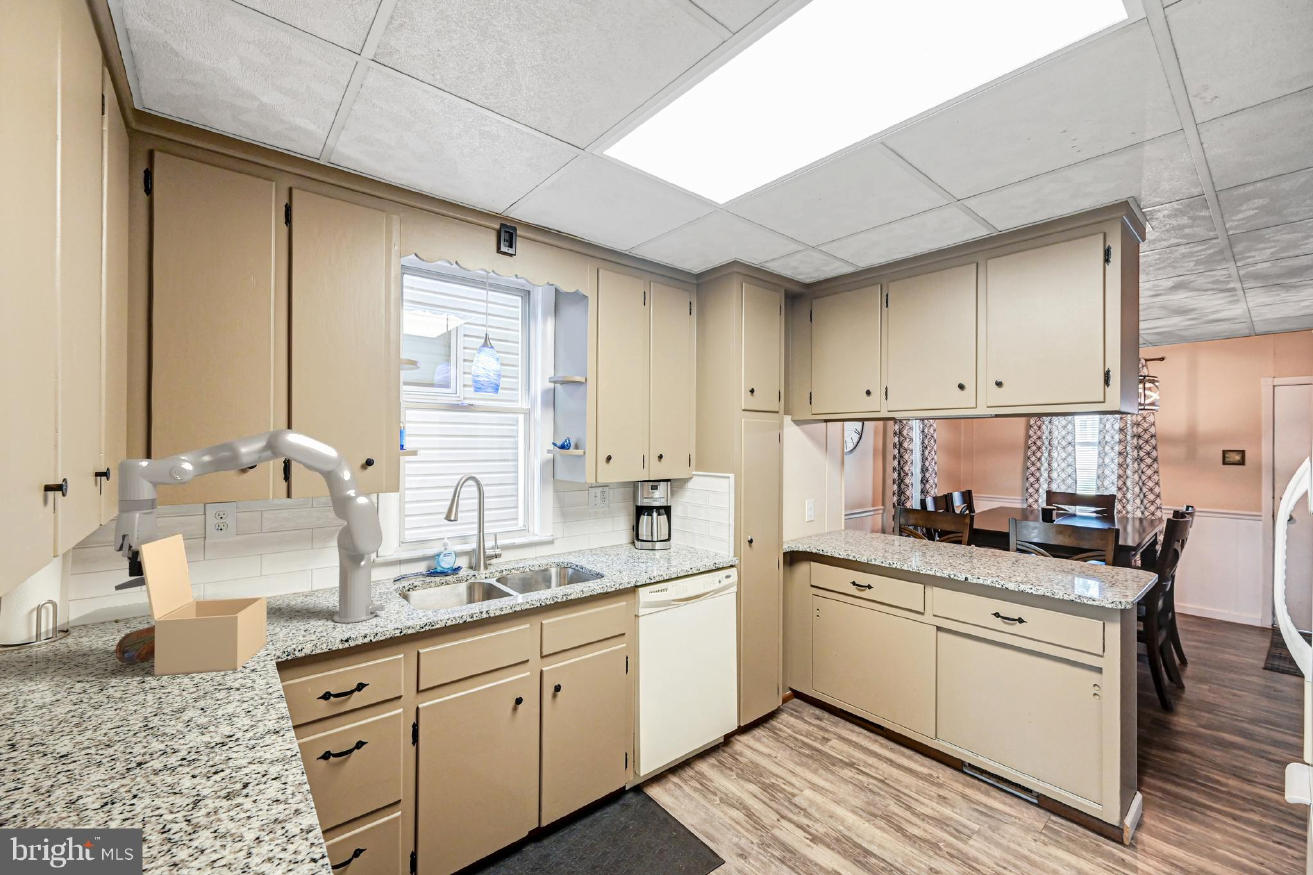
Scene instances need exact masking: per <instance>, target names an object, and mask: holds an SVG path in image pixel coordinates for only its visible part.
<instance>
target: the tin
mask: <svg viewBox="0 0 1313 875" xmlns="http://www.w3.org/2000/svg"><path fill="white" fill-rule="evenodd" d="M115 657H116V659H117V660H118V661H119V662H120V663H123V664H129V665H135V664H136V665H137V664H140V663H144V662H145V661H148V660H151V659H153V658H154V659H155V624H152V625H150V626H147V627H143V628H140V629H137V630H133V631H131V632H128V633H126V634H125V635H124V636H122V637H121V638H120V639H119V641H118V642H117V644H116V646H115Z"/></svg>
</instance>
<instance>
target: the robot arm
mask: <svg viewBox="0 0 1313 875" xmlns="http://www.w3.org/2000/svg"><path fill="white" fill-rule="evenodd" d="M281 458H285V459H288V460H290V461H293V462H296V463H297V464H300V465H302V466H303V467H304V468H305V469H306V470H308V471H310V472H314V473H318V474H320V475H321V476H322V477H323V479H324V481H325V483H326V486H327V488H328V492H329V493H328V494H329V497H330V501H331V505H332V509H333V513H334V515H335V516H336V517H337V518H338V519H339V520H342V521H346V524H345V525H343V527H342V528H340V529H339V531H338V534H337V536H336V537H337V538H336V540H337V541H336V542H337V543H336V544H337V551H338V562H339V563H338V564H339V565H338V566H339V567H338V568H339V569H338V570H339V571H338V572H339V573H338V612H337V613H336V614H334V615H333V621H334V622H335V623H341V624H345V623H346V624H349V623H359V622H363V621H367V620H370V619H372V618H374V617H375V616H376V614H377V612H384V611H385V610H386V606H385V604H382V603H381V604H380V603H378V604H376V603H374V600H372V554H374V553H376V552H378V550H379V549H380V548H381V547H382V545H383V544H382V543H383V531H382V530H383V529H382V527H381V523H380V518H379V515H378V510H377V506H376V503H375V502H374V501H373V499H372V498H371V497H370V496H369V495H367V494H364V493H361V491H360V489H359V485H358V481H357V477H356V474H355V472H354V470H353V468H352V466H351V464H350V463H349V462H348V461H347V460H346V459H345V458H344V456H342V454H341V452H340V451H339V449H337V448H335V447H334V446H332V445H330V444H327V443H325V442H323V441H321V440H318V439H316V438H313V437H311V436H309V435H306V434H304V433H302V432H300V431H298V430H294V429H291V428H290V429H286V428H285V429H283V428H282V429H275V430H271V431H267V432H263V433H259V434H255V435H251V436H246V437H241V438H239V439H234V440H230V441H227V442H222V443H218V444H216V445H212V446H208V447H204V448H200V449H195V450H190V451H187V452H183V453H179V454H175V455H171V456H167V457H164V458H162V459H151V458H130V459H129V458H128V459H122V460H120V462H119V463H118V467H117V470H118V472H117V473H118V474H117V478H118V479H117V480H118V482H117V484H118V485H117V491H118V492H117V496H118V500H117V504H118V505H117V507H118V508H117V510H118V512H117V516H116V521H115V526H114V538H113V539H114V540H113V550H114V551H115V552H116V553H117V552H121V557H122V558H126V559H127V561H126V562H128V577H129V578H132V577H133V578H138V577H144V573H143V567H142V562H141V557H140V551H139V546H140V545H144V544H147V543H151V542H154V541H158V536H159V534H158V532H159V530H158V518H157V512H156V511H158V486H159V485H160V486H175V487H176V486H183V485H185V484H189V483H190V482H192V481H193V479H194V478H197V477H200V476H205V475H208V474H213V473H217V472H218V473H219V472H228V471H229V472H231V471H237V470H241V469H242V470H243V469H246V468H249V467H252V466H256V465H259V464H263V463H268V462H270V461H271V462H272V461H274V460H278V459H281Z"/></svg>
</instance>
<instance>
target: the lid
mask: <svg viewBox="0 0 1313 875" xmlns="http://www.w3.org/2000/svg"><path fill="white" fill-rule="evenodd" d="M139 551H140V557H141V562H142V567H143V573H144V576H139V577H134V578H133V579H130V580H127V581H124V582H122V583H120V584H117V585H115V586H114V590H115V592H116V591H122V590H127V589H128V590H129V589H132V588H138V587H146V588H145V589H146V595H147V599H148V600H147V601H148V604H149V610H150V615H151V620H152V621H155V620H157V619H159V618H161V617H163V616H165V615H167V614H169V613H171V612H173V611H175V610H177V609H179V608H181V607H183V606H185V605H187V604H188V603H190V602H192V601H195V598H194V594H193V588H192V582H191V577H190V571H189V570H190V569H189V566H188V560H187V555H186V549H185V543H184V538H183V534H182V533H179V534H176V535H171V536H168V537H165V538H162V539H159V540H158V539H157V541H154V542H151V543H147V544H144V545H140V546H139Z"/></svg>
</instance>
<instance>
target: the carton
mask: <svg viewBox="0 0 1313 875" xmlns="http://www.w3.org/2000/svg"><path fill="white" fill-rule="evenodd" d="M267 600H268V597H267V596H257V597H256V596H254V597H240V598H222V599H221V598H219V599H202V600H200V599H199V600H193V601H191V602H189V603H187V604H185V605H183V606H181V607H179V608H177V609H175V610H173V611H171V612H170V613H168V614H166V615H164V616H162V617H160V618H158V619H156V620H154V625H155V657H154V676H153V677H164V676H177V675H179V676H180V675H190V674H201V673H213V672H227V671H237V670H239V669H241V667H243V665H244V664H246V663H247V662H248V661H250V660H251V659H252V658H254V656H255V655H256V654H258V653H259V652H260V651H261V650H263V649H264V648H265V647H266V646H267V624H268V623H267V619H268V618H267V614H268V611H267V608H268V607H267V606H268V604H267V603H268V602H267Z"/></svg>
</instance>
